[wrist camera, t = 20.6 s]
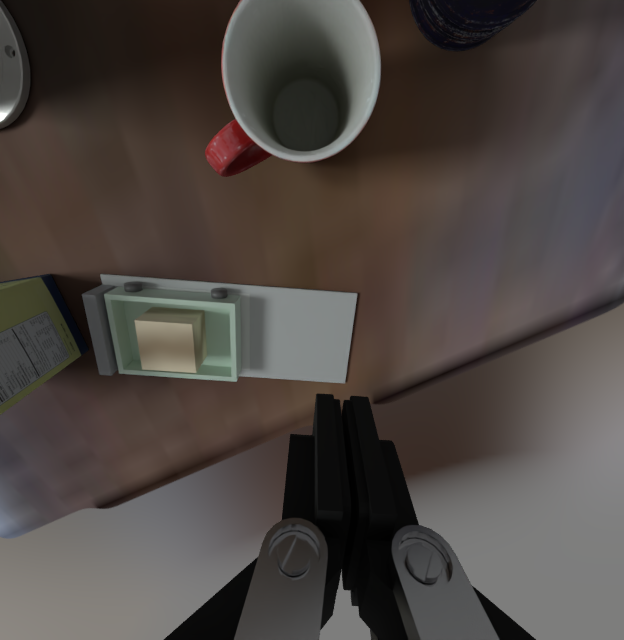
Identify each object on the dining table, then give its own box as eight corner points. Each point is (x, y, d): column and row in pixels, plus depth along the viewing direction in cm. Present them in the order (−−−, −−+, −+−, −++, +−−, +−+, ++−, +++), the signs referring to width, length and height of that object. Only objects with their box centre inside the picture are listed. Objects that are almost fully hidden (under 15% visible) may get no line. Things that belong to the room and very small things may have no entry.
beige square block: (152, 306, 37) (134, 320, 33) (204, 310, 37) (192, 324, 33) (158, 352, 39) (142, 369, 35) (207, 355, 39) (196, 373, 35)
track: (119, 366, 41) (101, 383, 38) (101, 273, 36) (79, 283, 33) (344, 381, 42) (347, 399, 38) (357, 292, 37) (361, 304, 33)
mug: (323, 36, 28) (329, -84, 15) (370, 137, 31) (408, 104, 18) (210, 124, 30) (138, 83, 18) (264, 209, 33) (234, 223, 21)
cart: (132, 366, 41) (120, 378, 38) (117, 280, 36) (102, 287, 33) (241, 374, 41) (236, 386, 38) (240, 289, 36) (234, 297, 34)
